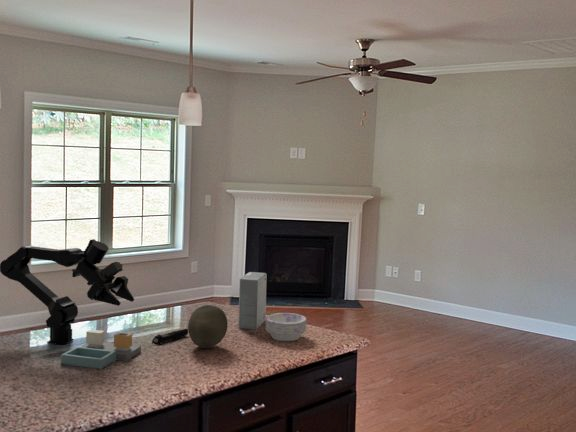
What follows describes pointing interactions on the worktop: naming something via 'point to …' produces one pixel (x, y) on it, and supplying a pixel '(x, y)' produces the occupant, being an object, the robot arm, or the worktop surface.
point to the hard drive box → (252, 300)
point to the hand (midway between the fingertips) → (126, 302)
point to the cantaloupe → (207, 326)
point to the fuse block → (119, 353)
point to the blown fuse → (123, 341)
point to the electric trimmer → (169, 336)
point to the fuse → (95, 338)
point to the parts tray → (88, 357)
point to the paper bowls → (285, 326)
